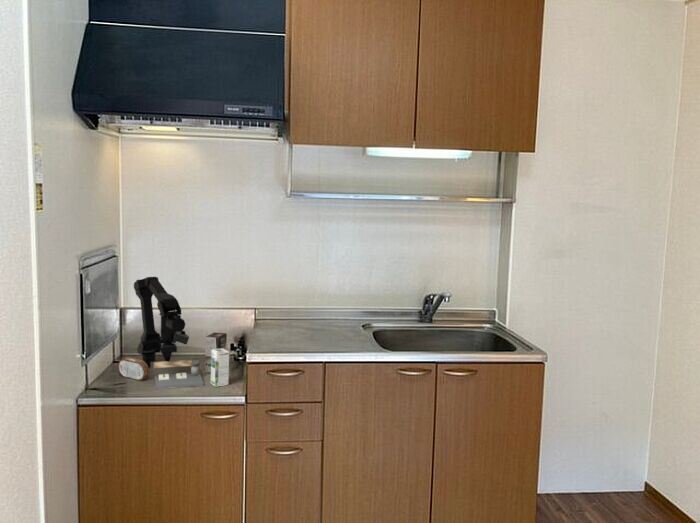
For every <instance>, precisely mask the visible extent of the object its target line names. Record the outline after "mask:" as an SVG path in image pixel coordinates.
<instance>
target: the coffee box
mask: <svg viewBox="0 0 700 523" xmlns="http://www.w3.org/2000/svg"><path fill="white" fill-rule="evenodd" d="M227 336H228V334H227V333H225V332H212V333H210V334H209V335H206V336H205V349H204V350H205V351H204V352H205V353H204V359H205V360H204V372H205V373H211V355H212V350H214V349H225V350H227V343H228V342H227V341H228V340H227Z"/></svg>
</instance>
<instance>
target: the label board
mask: <svg viewBox="0 0 700 523" xmlns="http://www.w3.org/2000/svg"><path fill="white" fill-rule="evenodd" d="M154 385H155V386H156V387H155V389H156V388H168V387H183V388H190V387H189V386H196V387H204V381H203V378H202V375H201V372H199V366H190V373H189V372H188V373H187V372H176V373H175V374H174V373H173V374H170V373H163V374H162V373H160V374H158V375H154ZM187 386H188V387H187Z"/></svg>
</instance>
